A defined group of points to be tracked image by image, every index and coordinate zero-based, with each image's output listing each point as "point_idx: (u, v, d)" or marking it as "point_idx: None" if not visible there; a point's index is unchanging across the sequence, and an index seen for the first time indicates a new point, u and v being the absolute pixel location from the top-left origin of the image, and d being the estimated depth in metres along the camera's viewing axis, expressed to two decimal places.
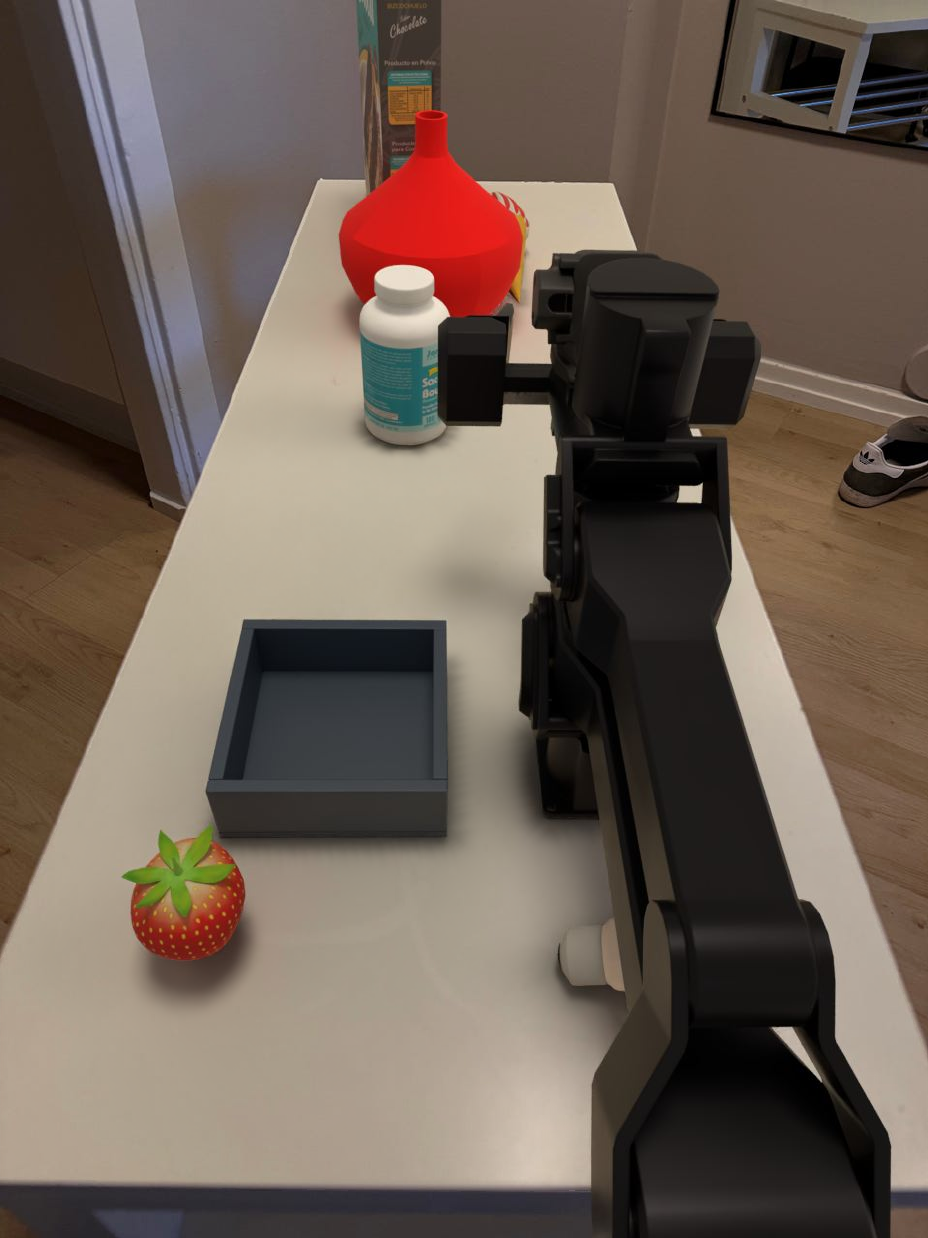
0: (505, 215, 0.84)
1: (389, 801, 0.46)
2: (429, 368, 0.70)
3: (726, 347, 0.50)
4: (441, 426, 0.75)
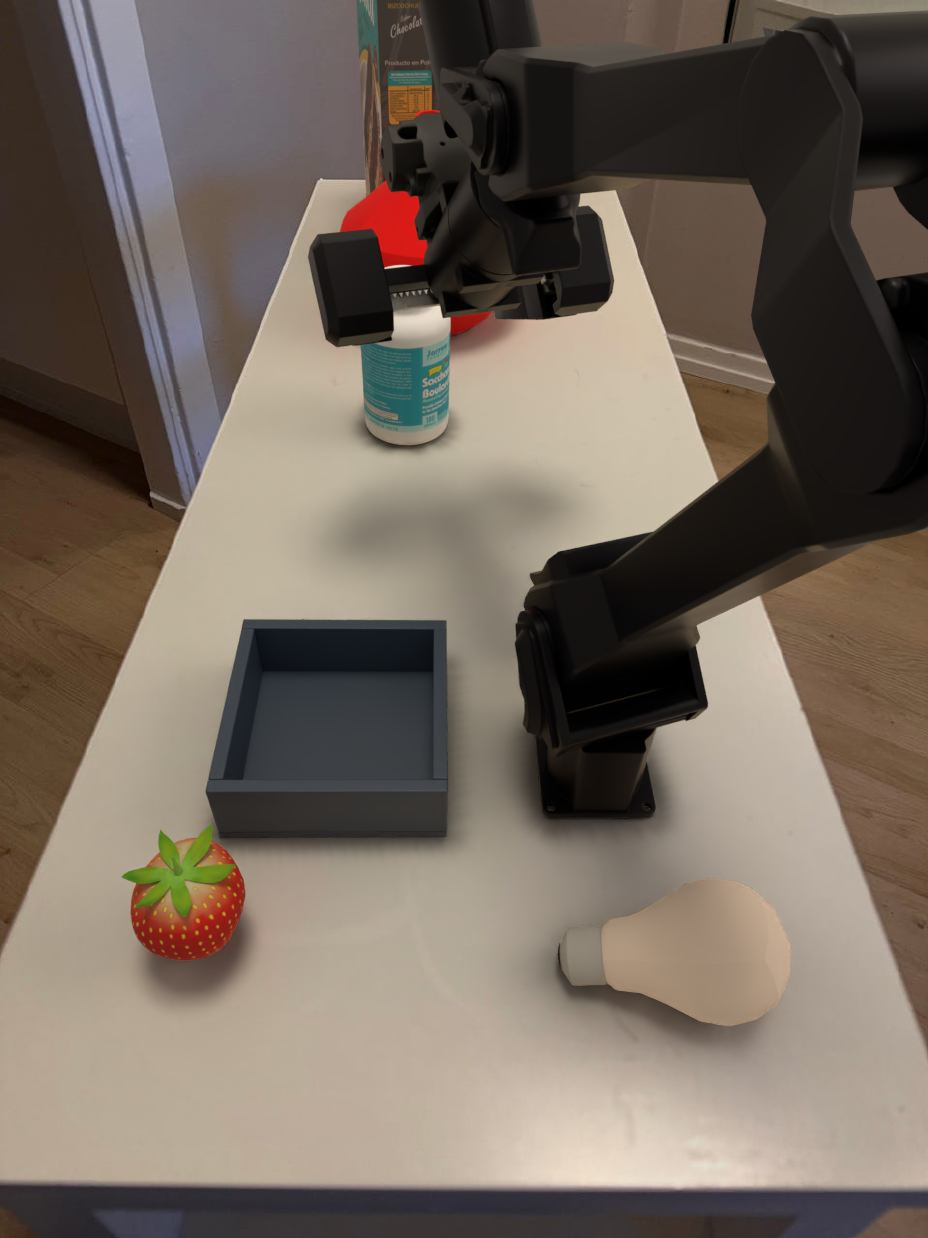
0: None
1: (389, 801, 0.46)
2: (429, 368, 0.70)
3: None
4: (441, 426, 0.75)
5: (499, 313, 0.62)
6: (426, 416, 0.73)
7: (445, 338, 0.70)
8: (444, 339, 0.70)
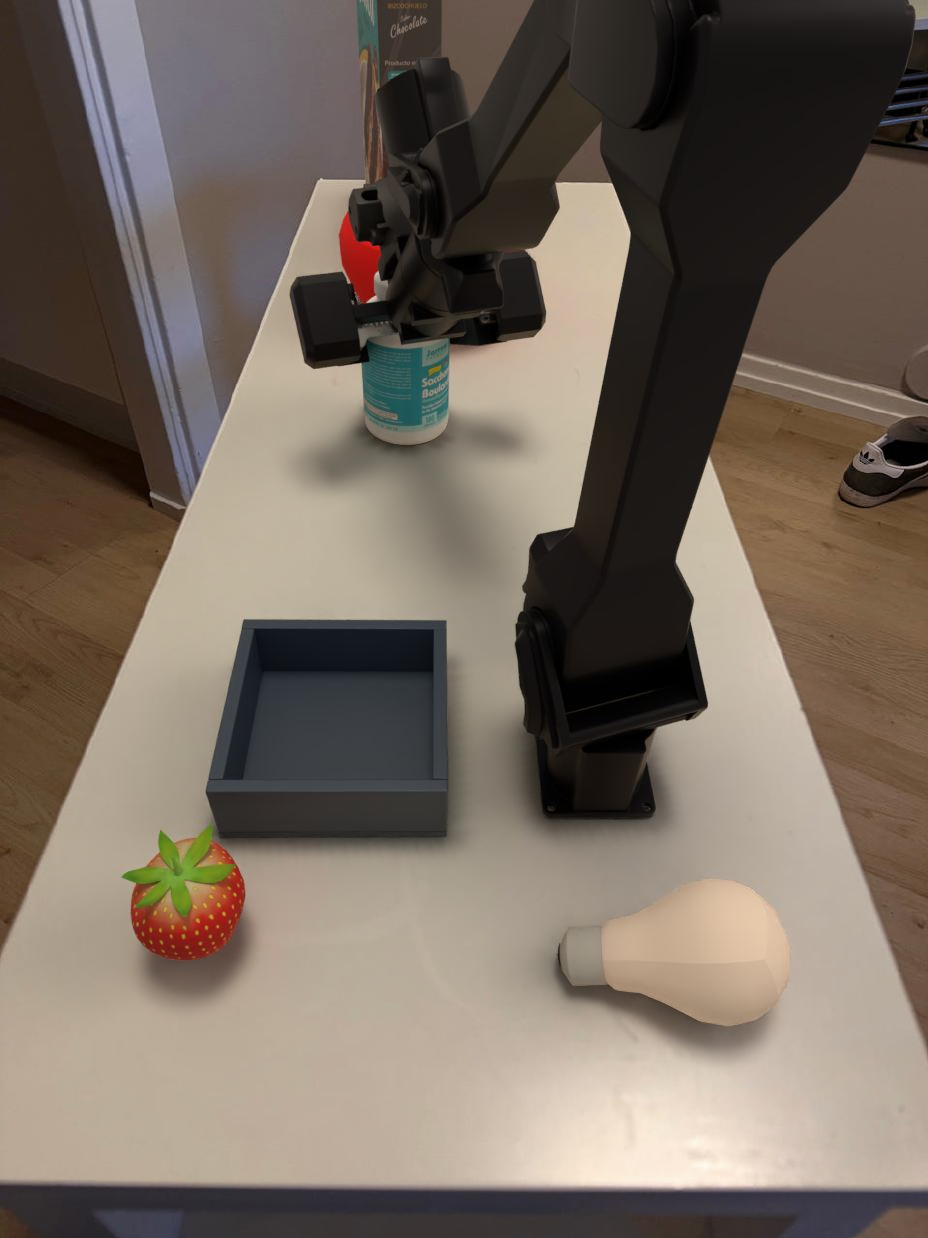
0: None
1: (389, 801, 0.46)
2: (429, 368, 0.70)
3: (507, 255, 0.66)
4: (441, 426, 0.75)
5: None
6: (426, 416, 0.73)
7: None
8: (444, 339, 0.70)
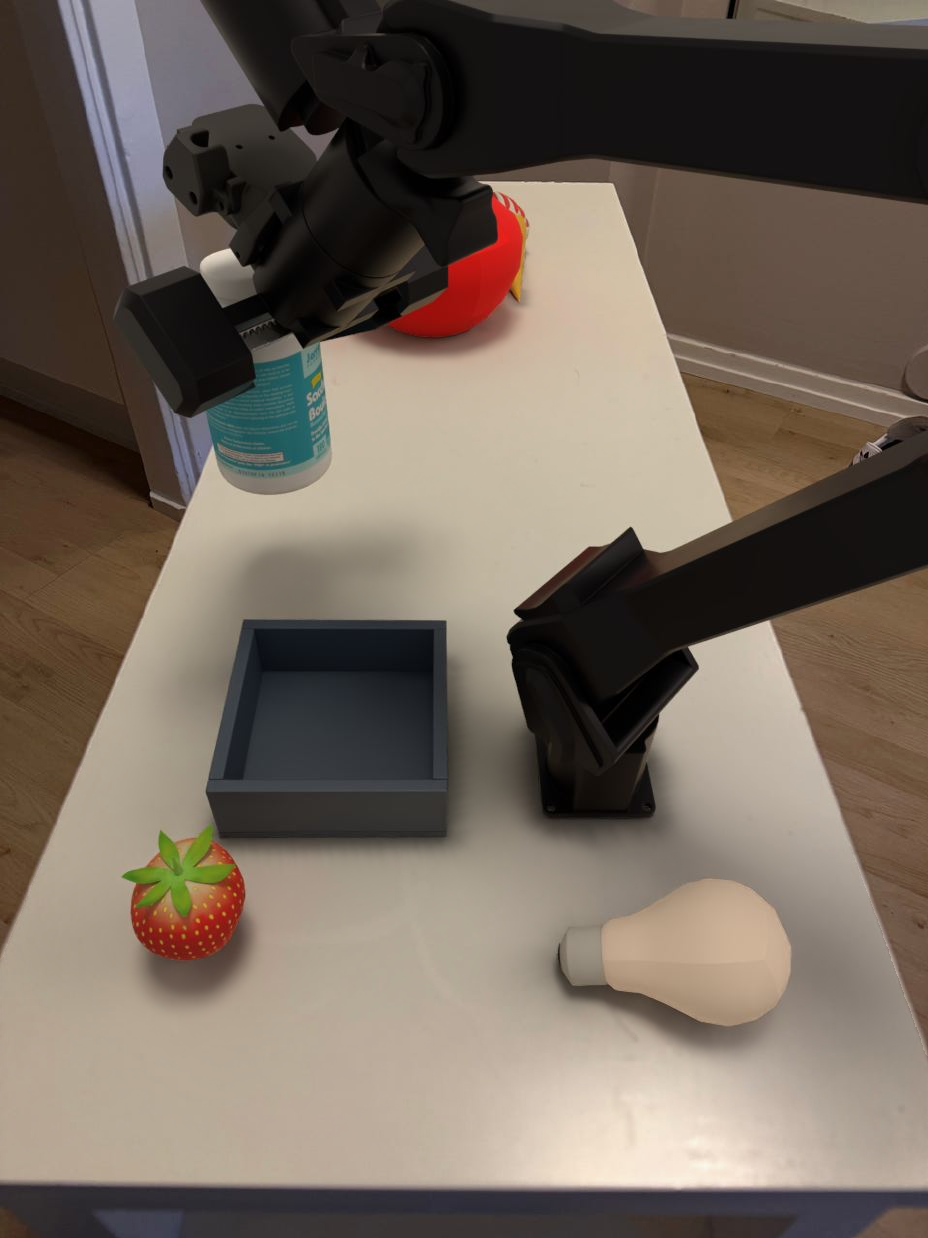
0: (505, 215, 0.84)
1: (389, 801, 0.46)
2: (311, 378, 0.51)
3: None
4: (330, 452, 0.56)
5: None
6: (316, 444, 0.54)
7: None
8: None
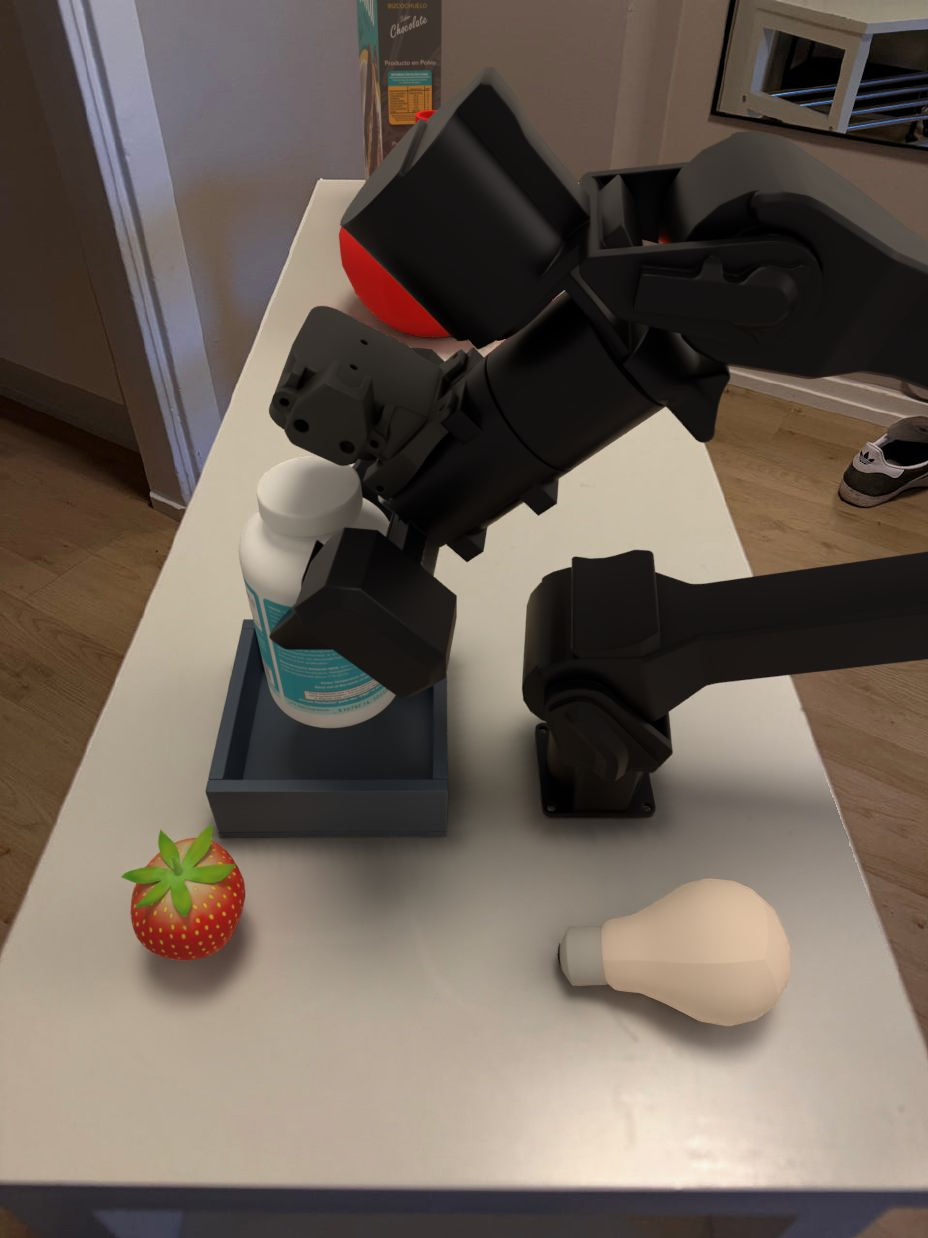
0: None
1: (389, 801, 0.46)
2: None
3: None
4: None
5: None
6: None
7: None
8: None
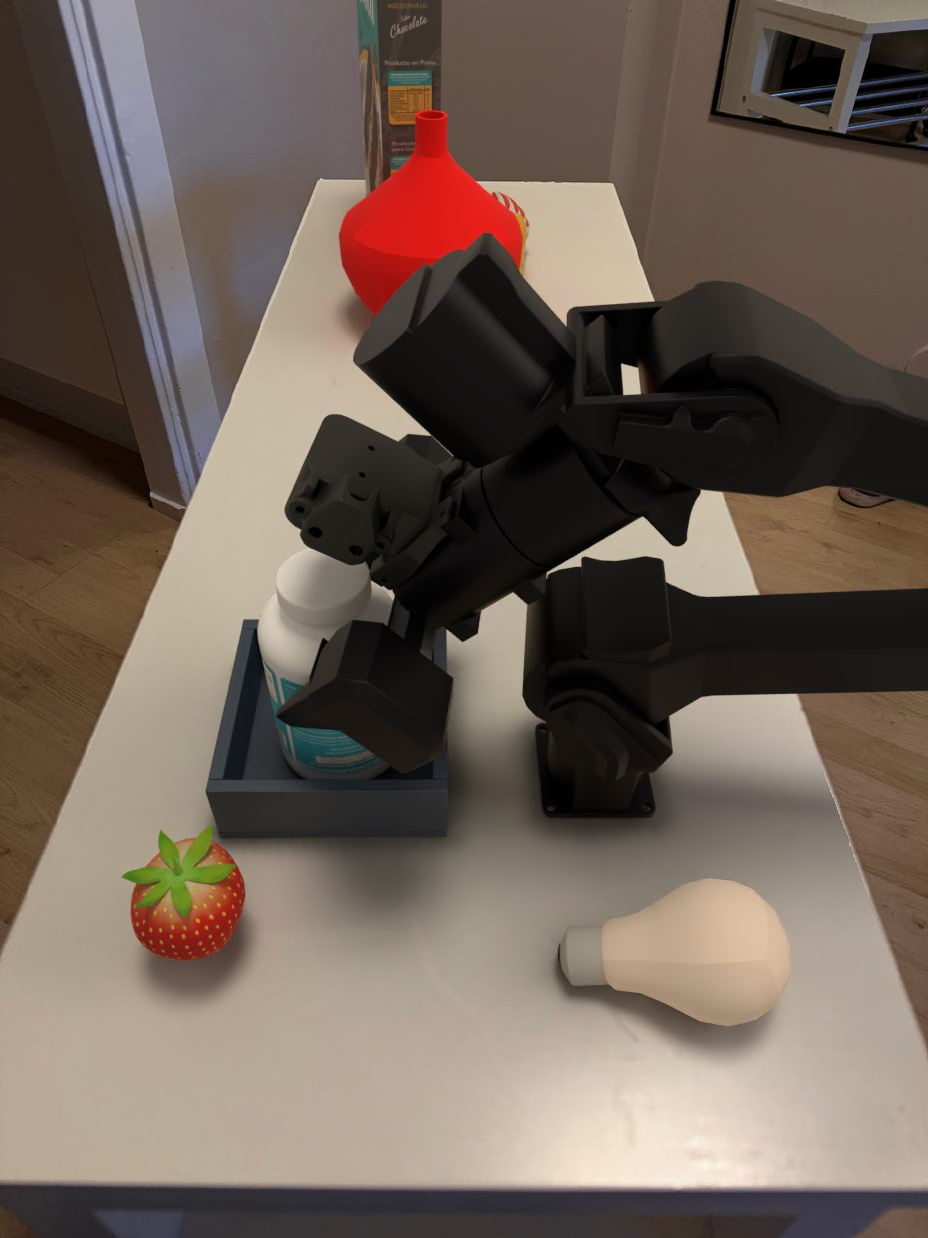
0: (505, 215, 0.84)
1: (389, 801, 0.46)
2: None
3: (415, 452, 0.46)
4: None
5: None
6: None
7: None
8: None
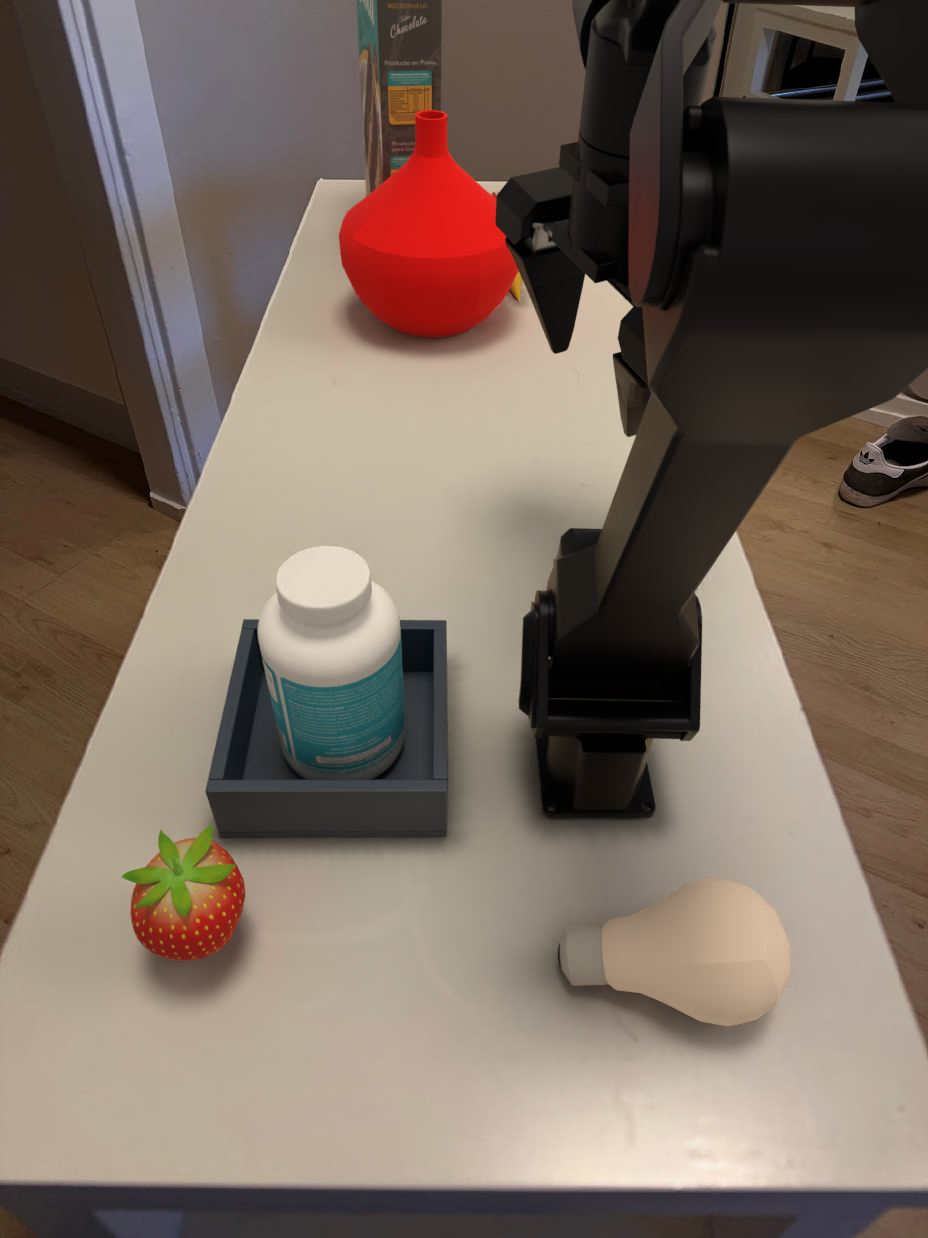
0: None
1: (389, 801, 0.46)
2: None
3: None
4: None
5: None
6: None
7: None
8: None
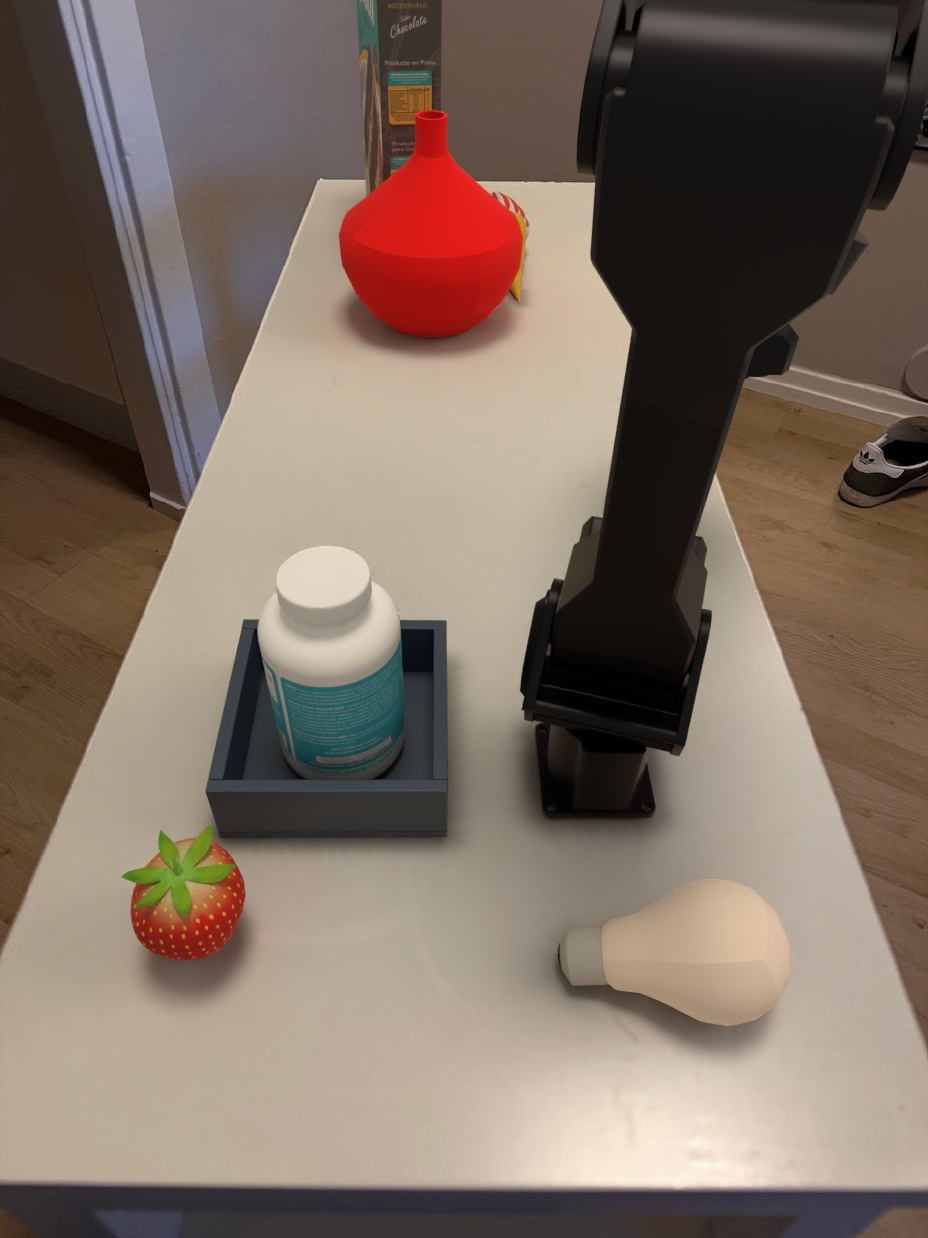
0: (505, 215, 0.84)
1: (389, 801, 0.46)
2: None
3: None
4: None
5: None
6: None
7: None
8: None
